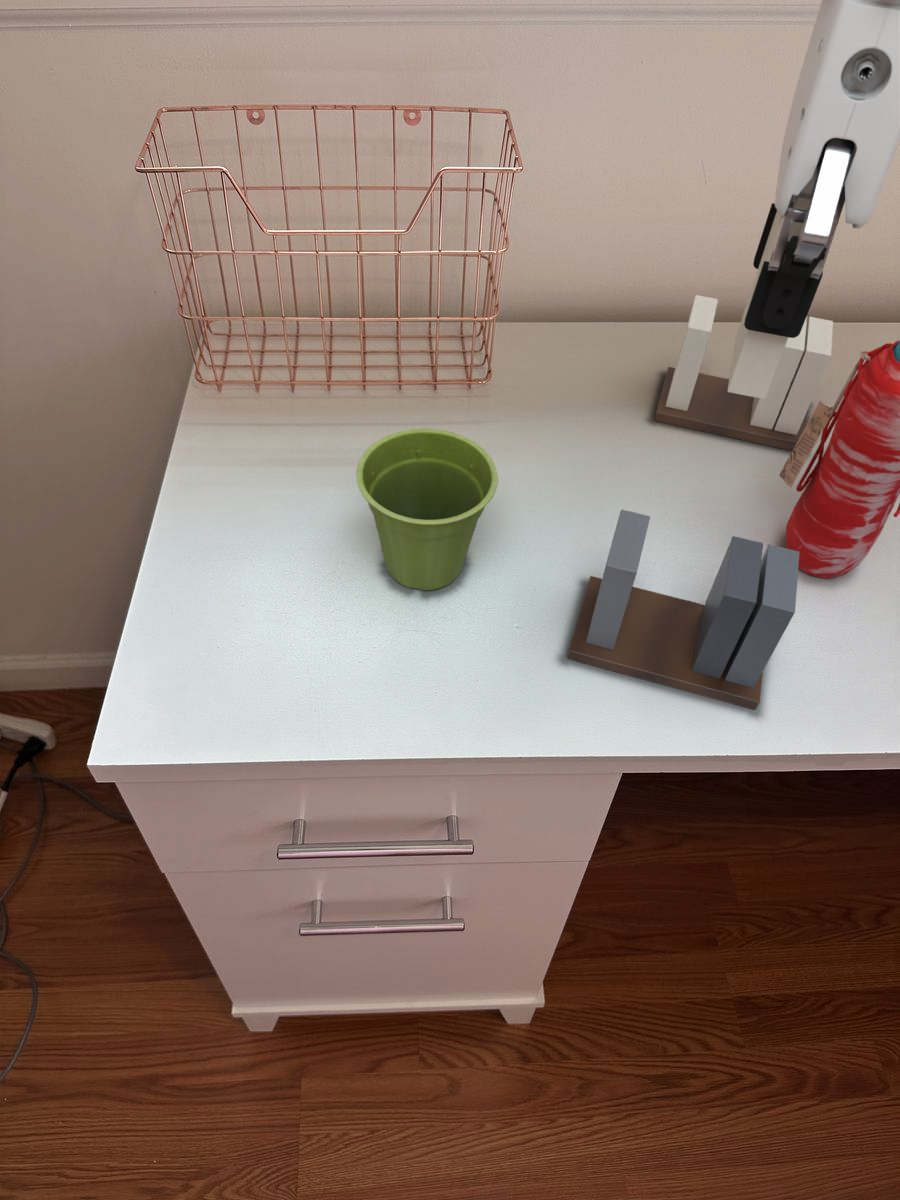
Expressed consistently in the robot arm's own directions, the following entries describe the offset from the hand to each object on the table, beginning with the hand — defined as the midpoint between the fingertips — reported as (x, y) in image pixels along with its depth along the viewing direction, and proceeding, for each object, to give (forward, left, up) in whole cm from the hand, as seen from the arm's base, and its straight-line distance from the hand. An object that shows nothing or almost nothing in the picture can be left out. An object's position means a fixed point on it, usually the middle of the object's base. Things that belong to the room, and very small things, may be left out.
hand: (774, 297), depth 53 cm
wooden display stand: (-3, -32, -31) cm, 45 cm away
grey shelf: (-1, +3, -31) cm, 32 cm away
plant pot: (+22, +1, -32) cm, 39 cm away
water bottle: (-12, -13, -32) cm, 36 cm away
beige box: (0, 0, -5) cm, 5 cm away
